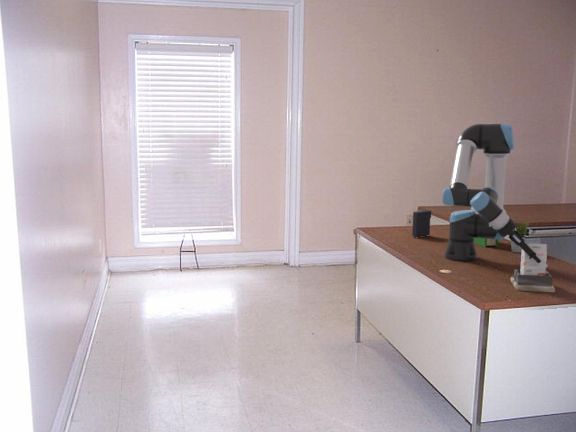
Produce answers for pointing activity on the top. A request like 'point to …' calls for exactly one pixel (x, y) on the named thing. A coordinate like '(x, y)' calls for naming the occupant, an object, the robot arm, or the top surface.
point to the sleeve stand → (532, 282)
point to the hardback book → (484, 241)
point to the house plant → (521, 232)
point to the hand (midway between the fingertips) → (543, 265)
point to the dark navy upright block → (421, 223)
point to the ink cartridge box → (529, 265)
